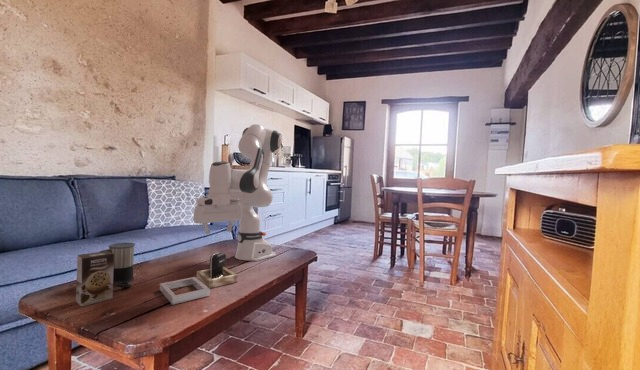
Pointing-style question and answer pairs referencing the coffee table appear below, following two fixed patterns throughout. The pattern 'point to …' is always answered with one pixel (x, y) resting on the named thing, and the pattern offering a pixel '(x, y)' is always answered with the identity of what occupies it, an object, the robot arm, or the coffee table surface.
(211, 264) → the battery charger
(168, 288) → the frame
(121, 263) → the milk frother
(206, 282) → the tan wooden frame
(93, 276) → the cookie box
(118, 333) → the coffee table surface
